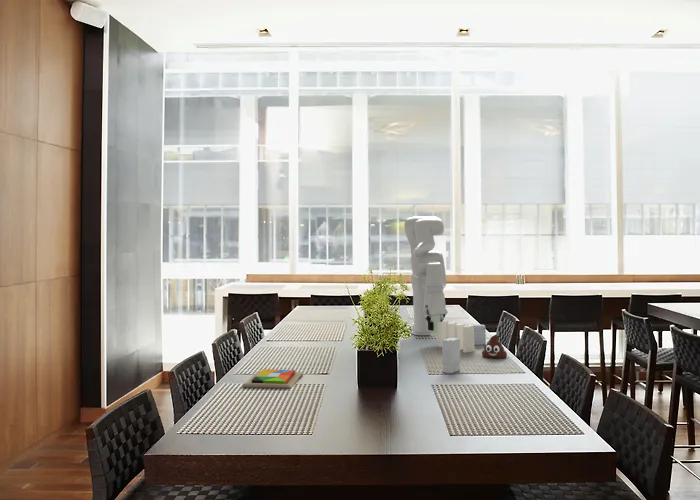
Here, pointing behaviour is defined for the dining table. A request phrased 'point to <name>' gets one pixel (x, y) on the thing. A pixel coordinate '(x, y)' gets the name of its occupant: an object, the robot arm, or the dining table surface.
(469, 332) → the domino
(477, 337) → the medicine box
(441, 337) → the domino
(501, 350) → the poop emoji
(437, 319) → the domino
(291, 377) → the wooden puzzle
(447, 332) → the domino
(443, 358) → the skincare box
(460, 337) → the domino
